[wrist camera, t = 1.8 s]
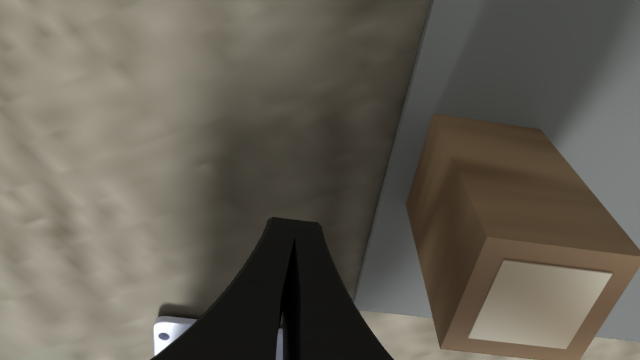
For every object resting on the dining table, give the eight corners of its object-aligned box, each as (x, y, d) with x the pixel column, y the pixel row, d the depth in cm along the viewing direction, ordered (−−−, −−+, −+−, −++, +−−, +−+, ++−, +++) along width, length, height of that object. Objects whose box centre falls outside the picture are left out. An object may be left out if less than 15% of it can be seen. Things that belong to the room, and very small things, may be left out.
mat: (636, 335, 24) (640, 342, 24) (352, 302, 23) (352, 308, 23) (878, -5, 16) (890, -2, 16) (451, -80, 15) (454, -79, 15)
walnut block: (502, 218, 20) (577, 365, 14) (405, 205, 20) (440, 350, 14) (540, 129, 18) (646, 258, 12) (432, 113, 18) (487, 238, 12)
